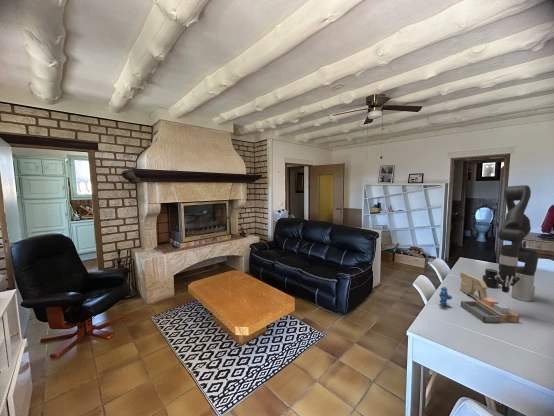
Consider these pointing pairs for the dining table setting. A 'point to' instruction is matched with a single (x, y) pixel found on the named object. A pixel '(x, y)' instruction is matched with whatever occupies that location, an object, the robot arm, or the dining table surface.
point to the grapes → (444, 296)
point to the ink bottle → (490, 278)
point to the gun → (473, 286)
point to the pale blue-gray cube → (501, 308)
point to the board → (503, 314)
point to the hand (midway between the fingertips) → (505, 292)
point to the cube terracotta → (490, 302)
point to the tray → (480, 312)
